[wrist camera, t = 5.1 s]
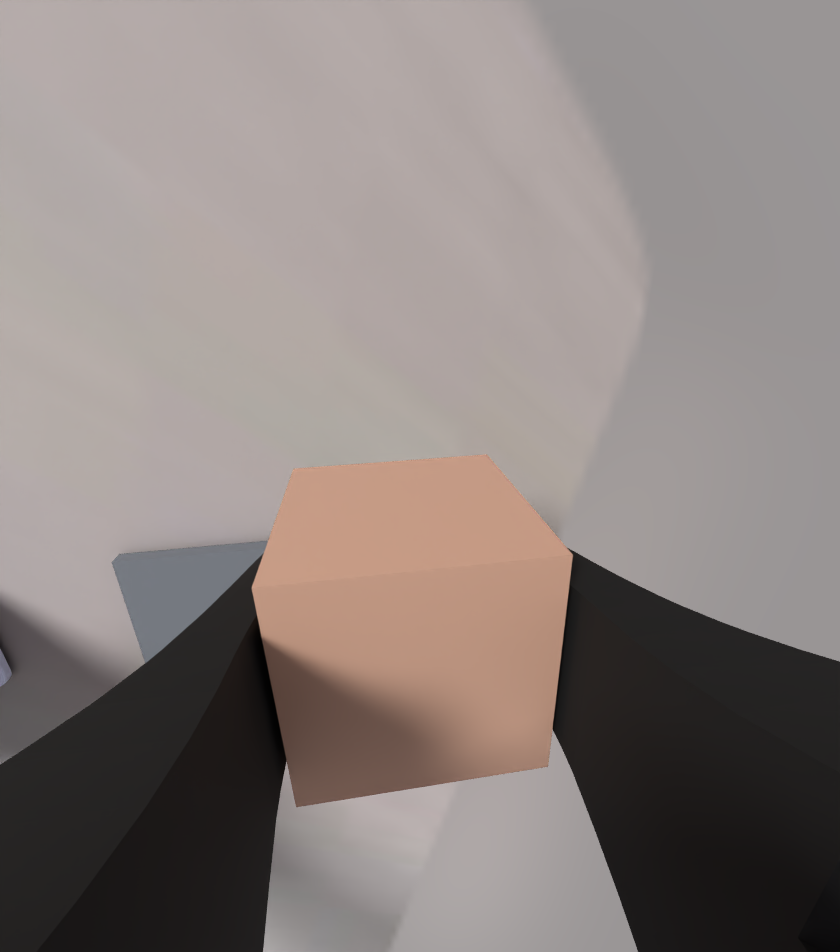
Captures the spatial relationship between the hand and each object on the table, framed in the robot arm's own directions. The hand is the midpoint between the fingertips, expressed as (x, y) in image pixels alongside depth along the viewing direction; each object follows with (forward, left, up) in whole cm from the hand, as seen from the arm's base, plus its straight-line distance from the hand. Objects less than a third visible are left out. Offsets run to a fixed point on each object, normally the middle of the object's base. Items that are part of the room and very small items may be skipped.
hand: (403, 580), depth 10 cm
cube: (0, 0, -1) cm, 1 cm away
